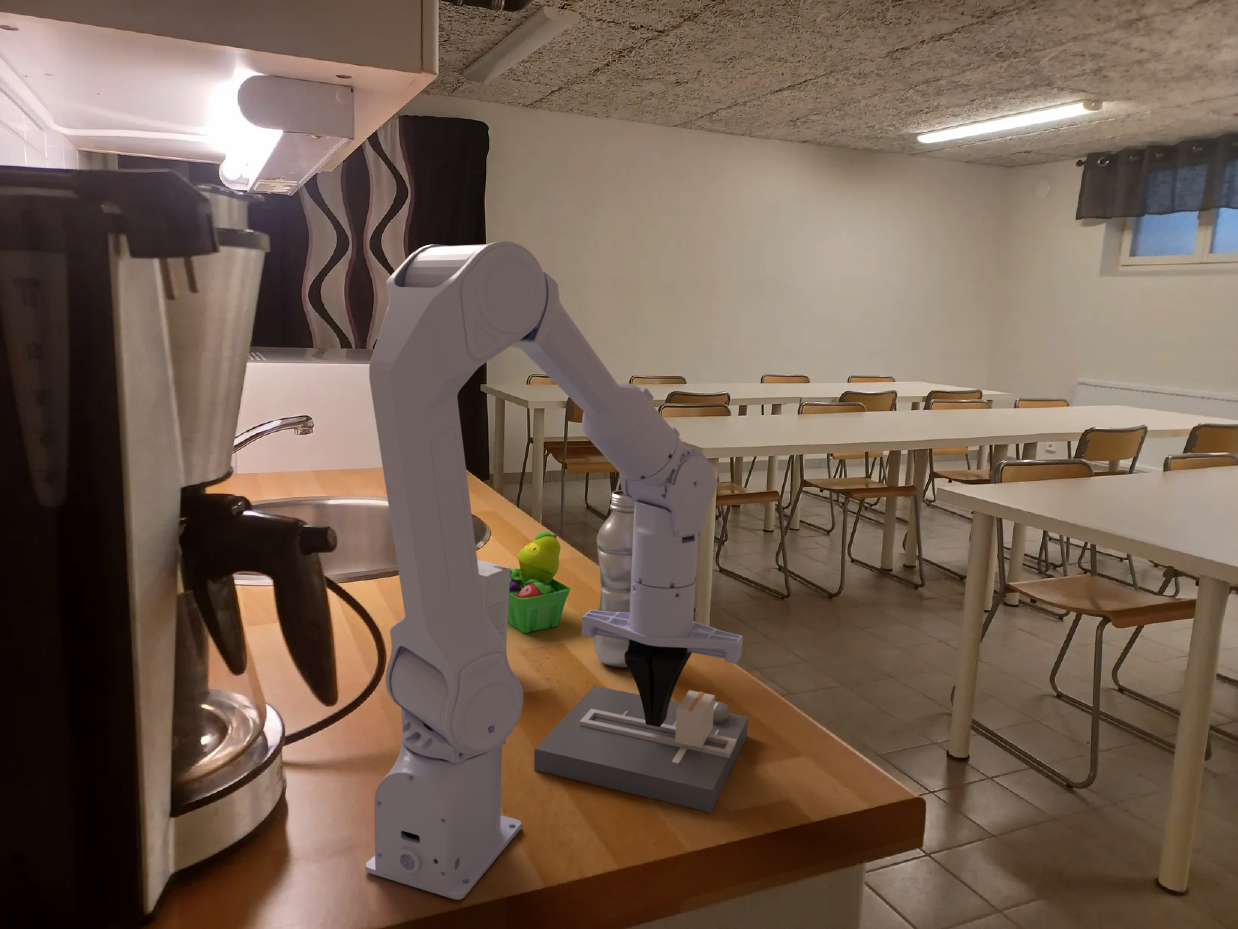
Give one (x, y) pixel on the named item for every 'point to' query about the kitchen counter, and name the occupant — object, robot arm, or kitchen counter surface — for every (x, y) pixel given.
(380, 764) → the kitchen counter surface
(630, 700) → the console
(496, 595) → the skincare box
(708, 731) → the fader cap
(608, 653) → the plastic bottle
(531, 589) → the fruit basket
